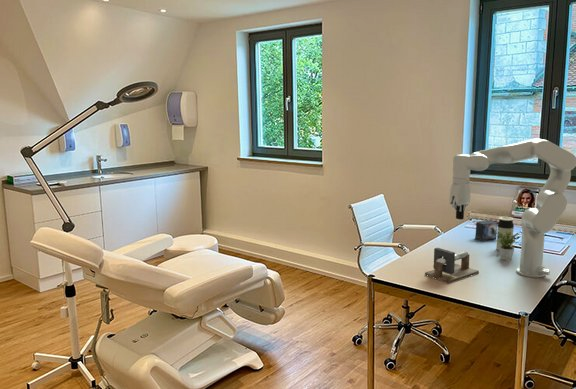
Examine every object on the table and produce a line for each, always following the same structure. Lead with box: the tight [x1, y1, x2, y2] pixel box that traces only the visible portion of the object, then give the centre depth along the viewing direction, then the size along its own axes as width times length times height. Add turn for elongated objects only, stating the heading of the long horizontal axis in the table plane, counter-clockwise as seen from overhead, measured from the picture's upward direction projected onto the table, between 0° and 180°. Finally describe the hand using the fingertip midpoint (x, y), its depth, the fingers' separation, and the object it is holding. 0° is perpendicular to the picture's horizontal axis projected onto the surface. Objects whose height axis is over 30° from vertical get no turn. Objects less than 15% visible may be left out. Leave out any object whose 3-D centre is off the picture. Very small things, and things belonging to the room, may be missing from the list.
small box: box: [474, 219, 498, 242], centre depth 291 cm, size 11×6×10 cm, turn 105°
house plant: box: [495, 229, 522, 261], centre depth 252 cm, size 14×14×16 cm
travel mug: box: [496, 216, 515, 252], centre depth 268 cm, size 8×8×18 cm
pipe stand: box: [424, 250, 480, 284], centre depth 234 cm, size 14×22×10 cm, turn 124°
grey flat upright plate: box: [433, 247, 456, 274], centre depth 230 cm, size 10×2×10 cm, turn 34°
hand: (459, 218), depth 232 cm, fingers closed
